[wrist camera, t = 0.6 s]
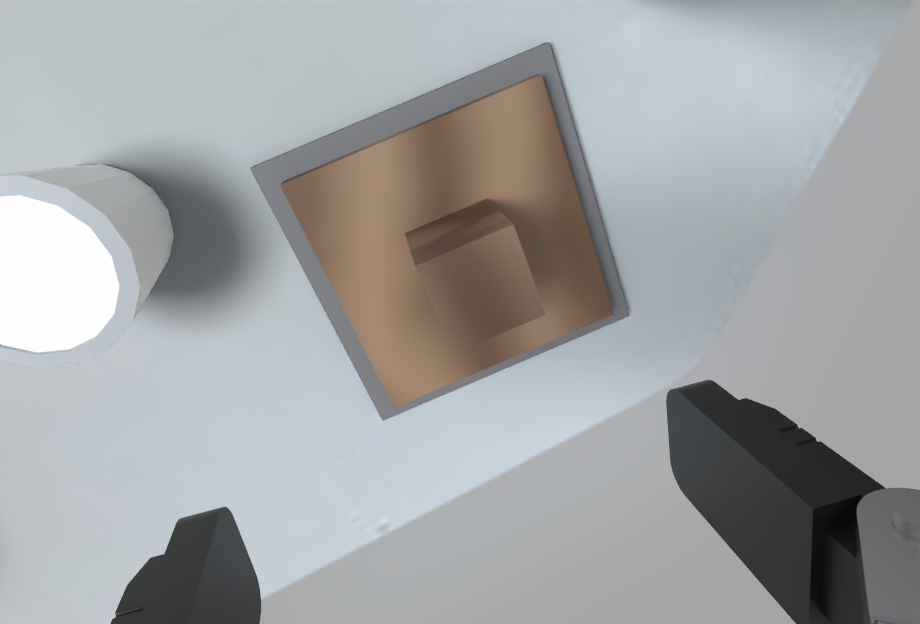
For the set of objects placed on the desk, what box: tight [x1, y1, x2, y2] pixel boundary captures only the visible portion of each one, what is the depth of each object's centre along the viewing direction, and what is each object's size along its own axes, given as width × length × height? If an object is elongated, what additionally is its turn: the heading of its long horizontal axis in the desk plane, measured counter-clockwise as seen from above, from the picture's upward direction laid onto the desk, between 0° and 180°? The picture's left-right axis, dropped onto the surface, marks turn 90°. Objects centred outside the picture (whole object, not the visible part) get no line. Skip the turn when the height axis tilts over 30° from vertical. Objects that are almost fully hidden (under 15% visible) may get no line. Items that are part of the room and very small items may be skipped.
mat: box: [250, 42, 629, 420], centre depth 29 cm, size 14×14×1 cm
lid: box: [280, 75, 614, 408], centre depth 26 cm, size 12×12×6 cm
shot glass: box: [0, 164, 174, 369], centre depth 24 cm, size 7×7×7 cm
